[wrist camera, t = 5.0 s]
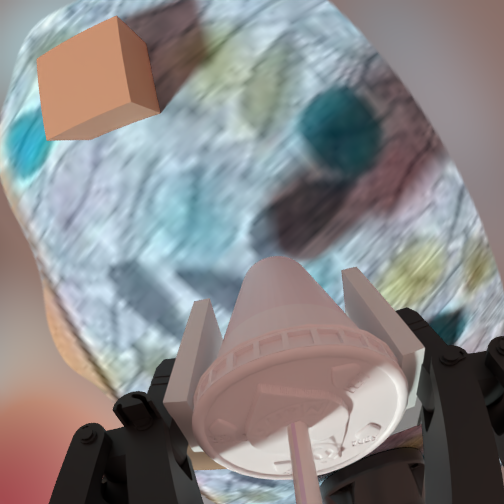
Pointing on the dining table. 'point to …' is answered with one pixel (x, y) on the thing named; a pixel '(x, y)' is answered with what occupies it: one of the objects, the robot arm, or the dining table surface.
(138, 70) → the terracotta block
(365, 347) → the smoothie
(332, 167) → the dining table surface
